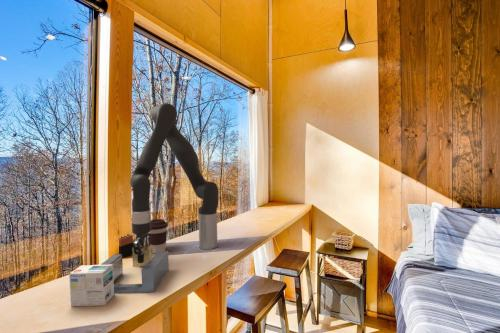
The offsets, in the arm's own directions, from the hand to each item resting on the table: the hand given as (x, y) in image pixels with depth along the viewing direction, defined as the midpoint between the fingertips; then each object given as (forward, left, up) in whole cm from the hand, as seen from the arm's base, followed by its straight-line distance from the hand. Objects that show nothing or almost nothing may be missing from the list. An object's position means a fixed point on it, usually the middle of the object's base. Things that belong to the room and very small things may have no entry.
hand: (142, 260), depth 114 cm
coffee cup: (-16, +1, -2) cm, 16 cm away
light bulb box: (+28, -5, -2) cm, 29 cm away
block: (0, 0, -2) cm, 2 cm away
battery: (-11, -13, -2) cm, 17 cm away
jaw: (+15, -7, -2) cm, 17 cm away
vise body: (+15, 0, -2) cm, 15 cm away
